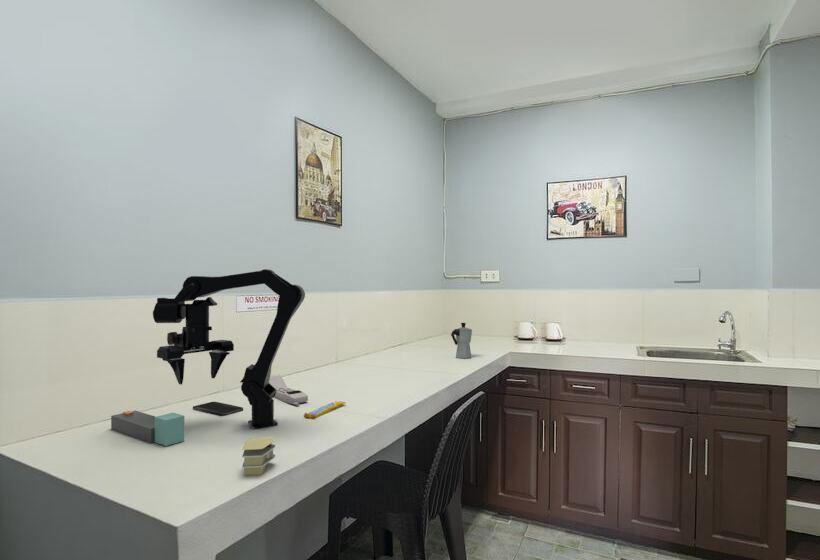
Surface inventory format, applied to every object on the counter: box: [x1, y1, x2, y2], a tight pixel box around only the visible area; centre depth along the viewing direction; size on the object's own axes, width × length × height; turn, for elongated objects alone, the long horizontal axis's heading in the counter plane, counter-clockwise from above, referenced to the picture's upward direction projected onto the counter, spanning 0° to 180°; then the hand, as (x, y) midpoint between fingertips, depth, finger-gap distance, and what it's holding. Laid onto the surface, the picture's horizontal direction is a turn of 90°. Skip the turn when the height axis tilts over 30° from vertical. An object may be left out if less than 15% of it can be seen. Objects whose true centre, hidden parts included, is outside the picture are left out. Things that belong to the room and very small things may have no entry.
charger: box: [154, 412, 185, 447], centre depth 111 cm, size 8×4×6 cm, turn 56°
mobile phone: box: [269, 374, 309, 407], centre depth 152 cm, size 6×6×25 cm
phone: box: [192, 401, 244, 417], centre depth 138 cm, size 8×1×15 cm
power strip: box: [110, 410, 156, 444], centre depth 117 cm, size 20×6×4 cm, turn 56°
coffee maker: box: [450, 322, 473, 360], centre depth 235 cm, size 15×9×18 cm, turn 130°
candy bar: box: [303, 400, 347, 419], centre depth 136 cm, size 17×4×2 cm, turn 155°
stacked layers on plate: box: [241, 437, 276, 476], centre depth 94 cm, size 10×9×6 cm
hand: (197, 381), depth 122 cm, fingers open, 9 cm apart
